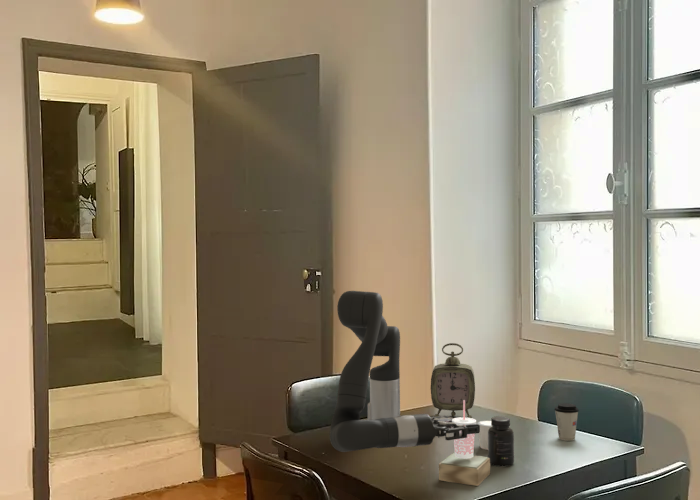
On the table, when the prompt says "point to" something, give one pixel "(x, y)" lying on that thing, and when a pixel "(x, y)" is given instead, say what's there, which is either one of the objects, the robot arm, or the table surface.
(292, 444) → the table surface
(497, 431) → the supplement bottle
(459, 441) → the beverage cup
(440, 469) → the small box
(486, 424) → the white cup
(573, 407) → the coffee cup
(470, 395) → the tabletop clock
